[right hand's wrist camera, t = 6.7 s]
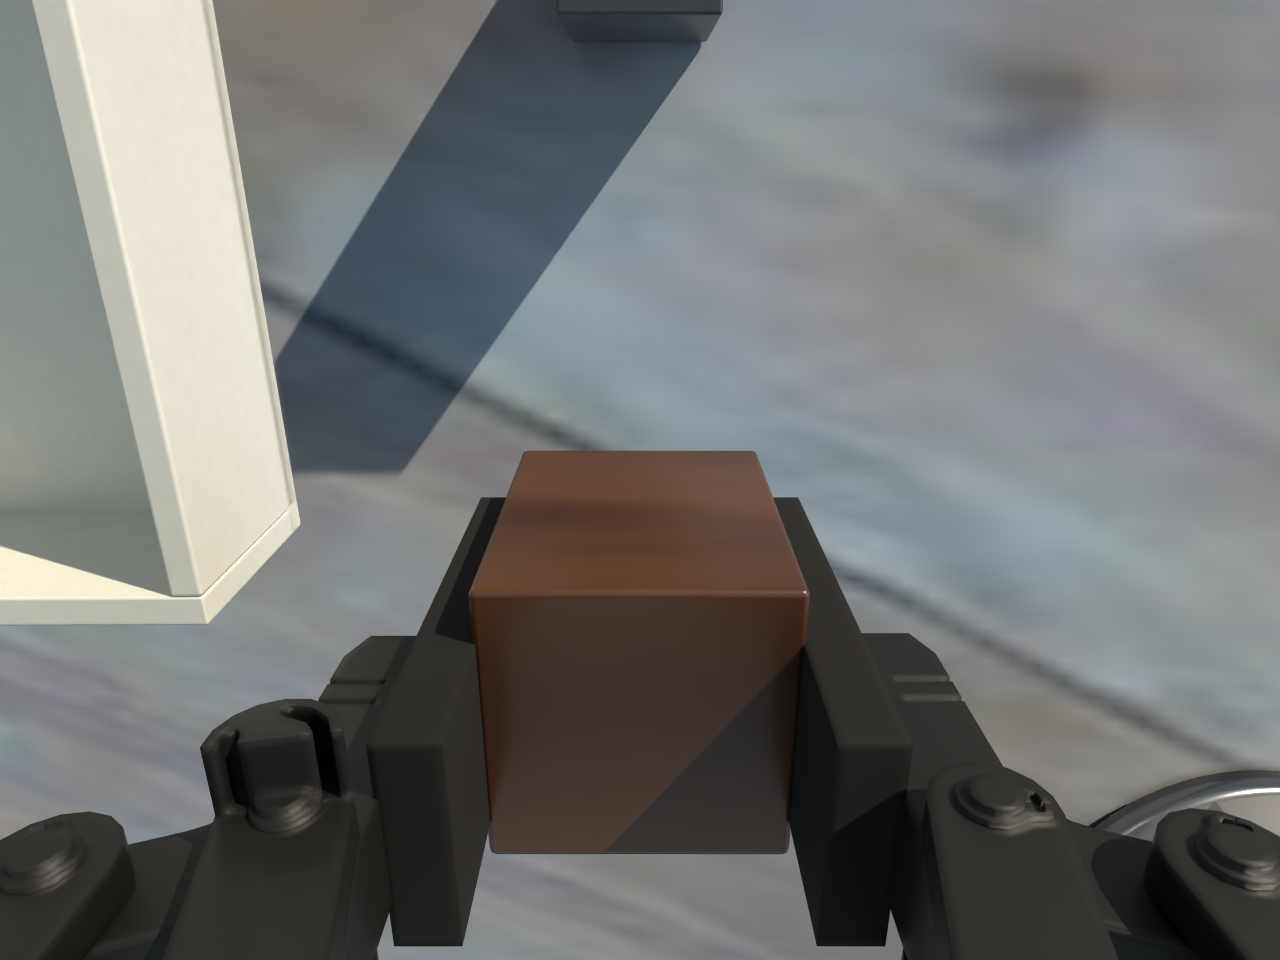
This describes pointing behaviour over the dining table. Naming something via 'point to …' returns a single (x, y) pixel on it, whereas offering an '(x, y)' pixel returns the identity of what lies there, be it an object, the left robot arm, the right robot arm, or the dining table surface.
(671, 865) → the dining table surface
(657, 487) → the walnut block
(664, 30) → the charcoal block
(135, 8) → the tray
